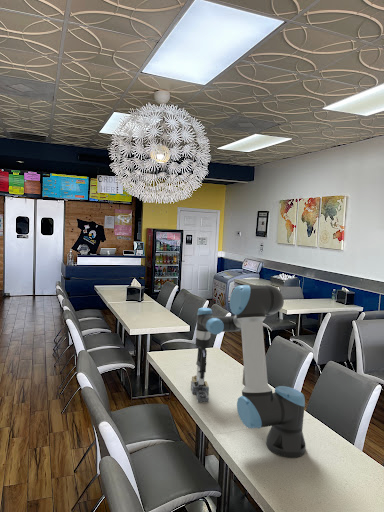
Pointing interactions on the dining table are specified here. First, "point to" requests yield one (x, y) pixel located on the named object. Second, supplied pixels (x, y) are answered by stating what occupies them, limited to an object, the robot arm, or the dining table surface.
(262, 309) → the robot arm
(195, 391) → the chain ends
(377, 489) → the dining table surface
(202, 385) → the pin
